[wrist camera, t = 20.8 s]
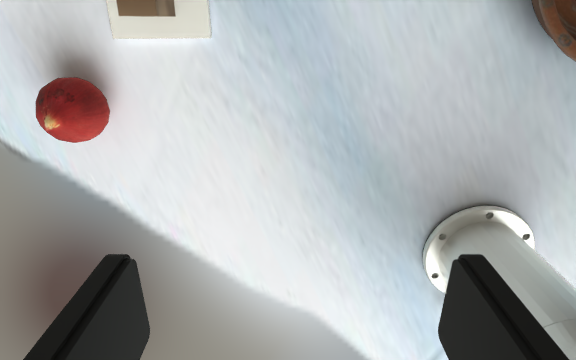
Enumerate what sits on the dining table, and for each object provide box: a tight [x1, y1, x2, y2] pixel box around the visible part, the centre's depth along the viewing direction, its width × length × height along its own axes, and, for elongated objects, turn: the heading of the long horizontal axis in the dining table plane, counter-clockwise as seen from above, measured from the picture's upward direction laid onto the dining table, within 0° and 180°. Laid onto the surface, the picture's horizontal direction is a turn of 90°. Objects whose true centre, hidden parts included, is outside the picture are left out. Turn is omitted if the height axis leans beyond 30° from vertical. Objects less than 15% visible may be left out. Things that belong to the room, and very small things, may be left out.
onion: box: [36, 78, 110, 143], centre depth 33 cm, size 6×6×8 cm
